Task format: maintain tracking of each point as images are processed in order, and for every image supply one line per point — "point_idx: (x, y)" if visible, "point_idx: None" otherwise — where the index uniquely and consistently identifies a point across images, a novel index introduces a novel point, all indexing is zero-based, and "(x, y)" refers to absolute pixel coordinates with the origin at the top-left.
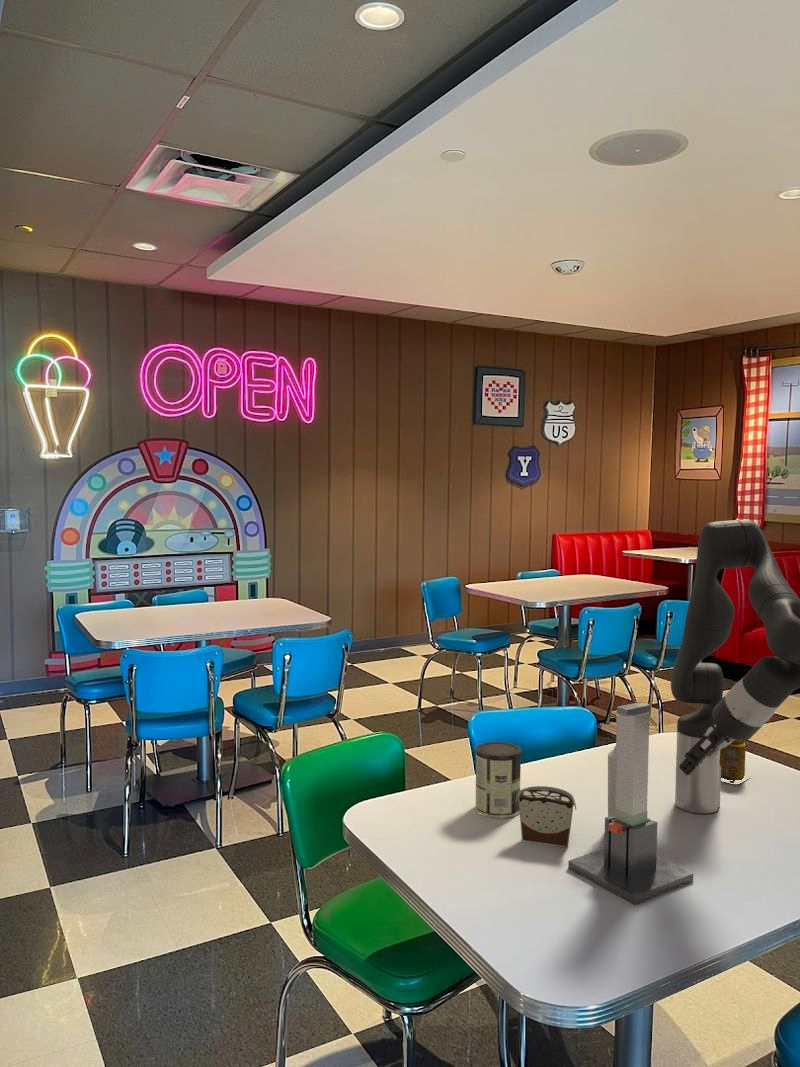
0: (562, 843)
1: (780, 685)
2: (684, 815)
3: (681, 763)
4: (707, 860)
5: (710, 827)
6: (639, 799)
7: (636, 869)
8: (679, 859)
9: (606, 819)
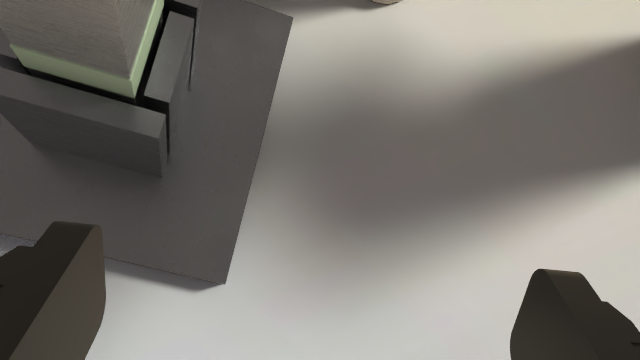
0: None
1: None
2: (626, 82)
3: (38, 244)
4: (393, 258)
5: (607, 173)
6: (50, 28)
7: (49, 143)
8: (338, 188)
9: None
